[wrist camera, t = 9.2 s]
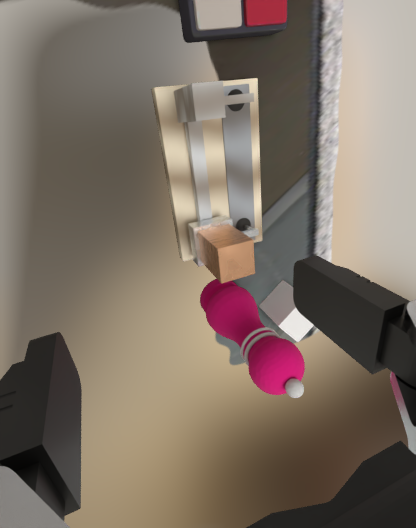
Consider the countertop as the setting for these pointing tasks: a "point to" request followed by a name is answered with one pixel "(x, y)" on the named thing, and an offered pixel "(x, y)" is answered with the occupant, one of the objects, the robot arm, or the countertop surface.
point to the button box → (231, 18)
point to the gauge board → (211, 153)
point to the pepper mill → (254, 339)
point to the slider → (223, 248)
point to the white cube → (285, 311)
